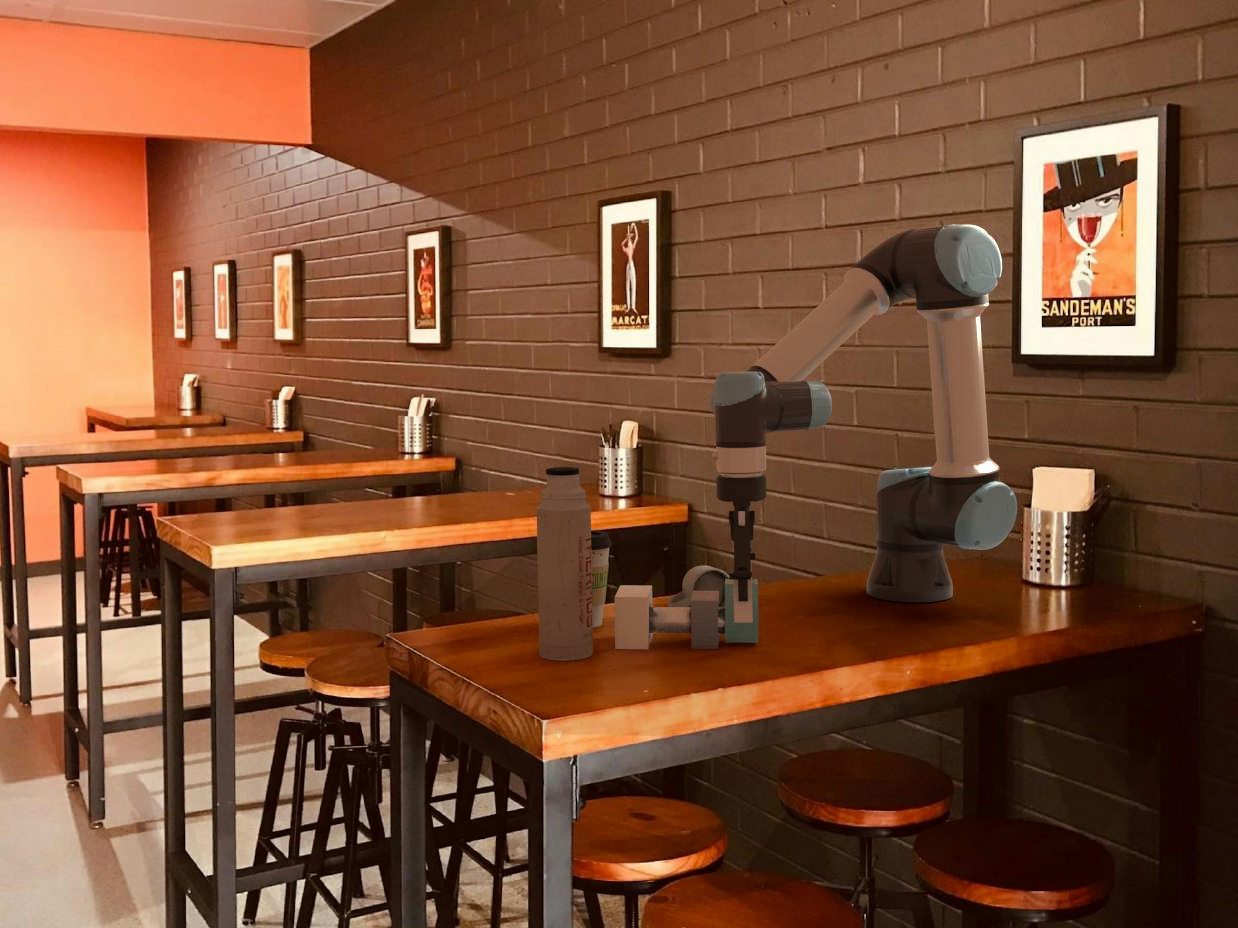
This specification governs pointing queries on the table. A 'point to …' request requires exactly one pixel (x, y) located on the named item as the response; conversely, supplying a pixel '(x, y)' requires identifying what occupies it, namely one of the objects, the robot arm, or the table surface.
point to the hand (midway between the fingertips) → (743, 611)
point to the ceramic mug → (700, 585)
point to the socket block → (632, 617)
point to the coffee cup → (599, 573)
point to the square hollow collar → (704, 619)
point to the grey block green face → (734, 632)
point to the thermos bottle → (564, 568)
